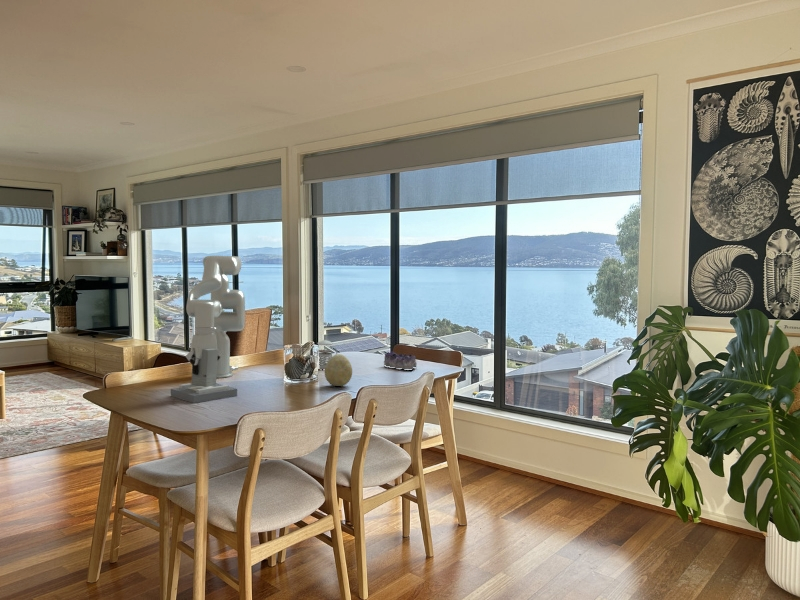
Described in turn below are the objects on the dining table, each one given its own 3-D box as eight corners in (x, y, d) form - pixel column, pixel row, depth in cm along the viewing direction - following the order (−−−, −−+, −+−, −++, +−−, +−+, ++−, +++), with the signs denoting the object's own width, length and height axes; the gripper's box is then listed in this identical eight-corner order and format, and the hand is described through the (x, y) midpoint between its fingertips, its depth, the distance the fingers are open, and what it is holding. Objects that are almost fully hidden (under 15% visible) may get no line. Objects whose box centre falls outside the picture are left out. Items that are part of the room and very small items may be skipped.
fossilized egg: (324, 383, 291) (325, 352, 290) (352, 384, 292) (352, 352, 291) (323, 389, 278) (324, 356, 277) (351, 389, 279) (352, 356, 278)
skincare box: (190, 385, 257) (190, 347, 256) (203, 382, 263) (203, 345, 262) (206, 387, 253) (206, 349, 252) (218, 384, 259) (218, 347, 258)
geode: (377, 368, 338) (378, 350, 338) (388, 368, 347) (389, 350, 348) (409, 371, 327) (411, 352, 328) (420, 371, 337) (421, 352, 338)
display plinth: (213, 389, 272) (213, 379, 271) (237, 395, 260) (237, 385, 260) (170, 395, 256) (170, 385, 256) (194, 403, 245) (194, 391, 244)
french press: (318, 366, 337) (318, 321, 336) (338, 367, 335) (339, 321, 334) (313, 369, 327) (313, 322, 326) (334, 370, 326) (335, 323, 324)
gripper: (217, 328, 266) (217, 369, 267) (180, 331, 253) (180, 374, 254) (227, 330, 261) (227, 371, 262) (190, 333, 248) (190, 377, 249)
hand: (204, 372), depth 258 cm, fingers closed on skincare box, 7 cm apart
